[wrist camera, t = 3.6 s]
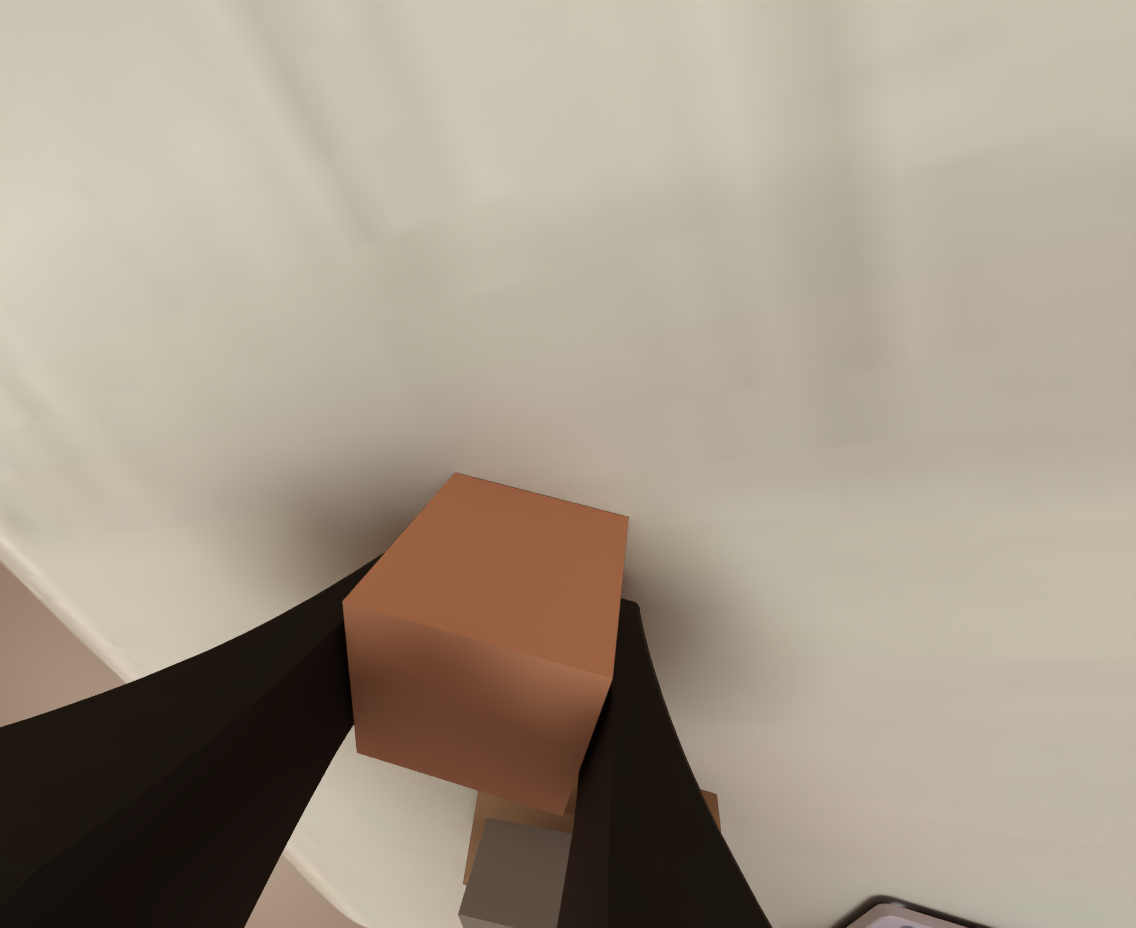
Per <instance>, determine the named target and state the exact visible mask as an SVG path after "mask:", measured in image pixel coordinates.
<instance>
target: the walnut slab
mask: <svg viewBox="0 0 1136 928" xmlns="http://www.w3.org/2000/svg"><path fill="white" fill-rule="evenodd" d="M578 774H579V772H578ZM577 786H578V775H577V778H576V781H575V783H574V786H573V789H572V792H571V794H570V797H569V800H568V803H567V805H566V808H565V811H564V814H563V816H559V815H556V814H552V813H549V812H546V811H543V810H539V809H536V808H533V807H530V806H527V805H523V804H520V803H517V802H514V801H511V800H507V799H504V798H501V797H498V796H495V795H491V794H488V793H485V792H482V791H478V797H477V803H476V809H475V815H474V821H473V827H472V833H471V839H470V844H469V850H468V856H467V862H466V868H465V874H464V880H463V884H464V885H467V883H468V880H469V876H470V873H471V870H472V866H473V863H474V860H475V856H476V853H477V850H478V846H479V843H480V840H481V836H482V833H483V830H484V826H485V823H486V820H487V818H490V819H495V820H501V821H506V822H512V823H517V824H523V825H528V826H533V827H539V828H544V829H550V830H555V831H561V832H566V833H572V832H573V825H574V816H575V808H576V798H577ZM700 790H701V789H700ZM701 792H702V795H703V797H704V799H705V801H706V803H707V805H708V807H709V809H710V811H711V813H712V816H713V818H714V820H715V822H716V824H717V826H718V828H719V830H720V832H721V827H720V819H719V810H718V801H717V794H714V793H711V792H708V791H704V790H701Z"/></svg>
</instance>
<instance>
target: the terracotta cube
mask: <svg viewBox="0 0 1136 928" xmlns="http://www.w3.org/2000/svg"><path fill="white" fill-rule="evenodd" d="M628 519H629V517H625V516H622V515H618V514H614V513H610V512H606V511H602V510H598V509H594V508H590V507H586V506H582V505H579V504H575V503H571V502H567V501H563V500H559V499H555V498H551V497H547V496H543V495H540V494H536V493H532V492H528V491H524V490H520V489H516V488H512V487H508V486H504V485H501V484H497V483H493V482H489V481H485V480H481V479H477V478H473V477H469V476H465V475H461V474H458V473H455V474H454V475H453V476H452V477H451V478H450V479H449V480H448V482H447V483H446V484H445V485H444V486H443V487H442V488H441V490H440V491H439V492H438V493H437V494H436V495H435V496H434V498H433V499H432V500H431V501H430V502H429V503H428V504H427V506H426V507H425V508H424V509H423V510H422V511H421V512H420V513H419V515H418V516H417V517H416V518H415V519H414V520H413V521H412V523H411V524H410V525H409V526H408V527H407V528H406V529H405V531H404V532H403V533H402V534H401V535H400V536H399V537H398V539H397V540H396V541H395V542H394V543H393V544H392V545H391V547H390V548H389V549H388V550H387V551H386V552H385V553H384V555H383V556H382V557H381V558H380V559H379V560H378V561H377V563H376V564H375V565H374V566H373V567H372V568H371V569H370V571H369V572H368V573H367V574H366V575H365V576H364V577H363V579H362V580H361V581H360V582H359V583H358V584H357V585H356V587H355V588H354V589H353V590H352V591H351V592H350V593H349V595H348V596H347V597H346V598H345V599H344V600H343V601H342V602H343V613H344V623H345V633H346V644H347V654H348V665H349V675H350V685H351V696H352V706H353V717H354V727H355V737H356V748H357V753H360V754H363V755H366V756H369V757H373V758H376V759H379V760H382V761H385V762H389V763H392V764H395V765H398V766H402V767H405V768H408V769H411V770H414V771H418V772H421V773H424V774H427V775H430V776H434V777H437V778H440V779H443V780H446V781H450V782H453V783H456V784H459V785H462V786H466V787H469V788H472V789H475V790H479V791H482V792H485V793H488V794H491V795H495V796H498V797H501V798H504V799H507V800H511V801H514V802H517V803H520V804H523V805H527V806H530V807H533V808H536V809H539V810H543V811H546V812H549V813H552V814H556V815H559V816H563V814H564V811H565V808H566V805H567V803H568V800H569V797H570V794H571V792H572V789H573V786H574V783H575V781H576V778H577V775H578V772H579V770H580V767H581V764H582V761H583V759H584V756H585V753H586V750H587V748H588V745H589V742H590V739H591V737H592V734H593V731H594V728H595V726H596V723H597V720H598V717H599V715H600V712H601V709H602V706H603V704H604V701H605V698H606V695H607V693H608V690H609V687H610V684H611V682H612V679H613V670H614V660H615V650H616V640H617V630H618V620H619V610H620V599H621V589H622V579H623V569H624V559H625V549H626V539H627V529H628Z"/></svg>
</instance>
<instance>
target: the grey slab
mask: <svg viewBox="0 0 1136 928" xmlns="http://www.w3.org/2000/svg"><path fill="white" fill-rule="evenodd" d="M571 838H572V833H566V832H561V831H555V830H550V829H544V828H539V827H533V826H528V825H523V824H517V823H512V822H506V821H501V820H495V819H490V818H487V820H486V823H485V826H484V830H483V833H482V836H481V840H480V843H479V846H478V850H477V853H476V856H475V860H474V863H473V866H472V870H471V873H470V876H469V880H468V883H467V887H466V890H465V893H464V897H463V900H462V903H461V907H460V910H459V913H458V915H459V918H460V920H461V923H462V925H463V928H557V923H558V917H559V911H560V905H561V899H562V893H563V887H564V881H565V875H566V869H567V863H568V856H569V850H570V844H571Z"/></svg>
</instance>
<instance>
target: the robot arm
mask: <svg viewBox="0 0 1136 928" xmlns="http://www.w3.org/2000/svg"><path fill="white" fill-rule="evenodd" d="M383 555H384V553H383V554H382V555H380V556H379V557H377V558H375V559H374V560H372V561H371V562H369V563H368V564H366V565H364V566H363V567H361V568H360V569H358V570H356V571H355V572H353V573H352V574H350V575H348V576H347V577H345V578H343V579H342V580H340V581H338V582H337V583H335V584H334V585H332V586H330V587H329V588H327V589H325V590H324V591H322V592H320V593H319V594H317V595H315V596H313V597H312V598H310V599H308V600H306V601H304V602H303V603H301V604H299V605H297V606H295V607H294V608H292V609H290V610H288V611H286V612H285V613H283V614H281V615H279V616H277V617H276V618H274V619H272V620H270V621H268V622H266V623H264V624H262V625H260V626H258V627H256V628H254V629H252V630H250V631H248V632H246V633H244V634H242V635H240V636H238V637H236V638H234V639H232V640H229V641H227V642H225V643H223V644H221V645H219V646H217V647H215V648H212V649H210V650H208V651H206V652H203V653H201V654H199V655H196V656H194V657H191V658H189V659H187V660H184V661H182V662H179V663H177V664H175V665H172V666H170V667H167V668H165V669H162V670H160V671H158V672H155V673H153V674H150V675H148V676H146V677H143V678H141V679H138V680H136V681H133V682H130V683H128V684H125V685H122V686H120V687H117V688H114V689H112V690H109V691H106V692H104V693H101V694H98V695H95V696H93V697H90V698H87V699H84V700H81V701H78V702H76V703H73V704H70V705H67V706H64V707H61V708H59V709H56V710H53V711H50V712H47V713H44V714H41V715H38V716H35V717H32V718H29V719H26V720H22V721H19V722H16V723H13V724H9V725H6V726H3V727H0V928H244V927H245V925H246V923H247V921H248V919H249V917H250V915H251V913H252V911H253V909H254V907H255V905H256V903H257V901H258V899H259V897H260V895H261V893H262V891H263V889H264V887H265V885H266V883H267V881H268V879H269V877H270V875H271V873H272V871H273V869H274V867H275V865H276V864H277V862H278V859H279V858H280V856H281V854H282V852H283V850H284V848H285V846H286V844H287V842H288V840H289V839H290V837H291V835H292V833H293V831H294V829H295V827H296V825H297V823H298V822H299V820H300V818H301V816H302V814H303V812H304V810H305V808H306V807H307V805H308V803H309V801H310V799H311V797H312V795H313V794H314V792H315V790H316V788H317V786H318V785H319V783H320V781H321V779H322V777H323V775H324V774H325V772H326V770H327V768H328V766H329V765H330V763H331V761H332V759H333V757H334V755H335V754H336V752H337V750H338V749H339V747H340V745H341V744H342V742H343V741H344V739H345V737H346V736H347V734H348V732H349V731H350V729H351V728H352V726H353V725H354V717H353V706H352V696H351V685H350V675H349V665H348V654H347V644H346V633H345V623H344V613H343V602H342V601H343V600H344V599H345V598H346V597H347V596H348V595H349V593H350V592H351V591H352V590H353V589H354V588H355V587H356V585H357V584H358V583H359V582H360V581H361V580H362V579H363V577H364V576H365V575H366V574H367V573H368V572H369V571H370V569H371V568H372V567H373V566H374V565H375V564H376V563H377V561H378V560H379V559H380V558H381V557H382V556H383ZM557 928H772V926H771V924H770V923H769V921H768V919H767V917H766V916H765V914H764V912H763V911H762V909H761V907H760V905H759V904H758V902H757V900H756V898H755V896H754V894H753V892H752V890H751V889H750V887H749V885H748V883H747V881H746V879H745V877H744V875H743V874H742V872H741V870H740V868H739V866H738V864H737V862H736V860H735V859H734V857H733V855H732V853H731V851H730V849H729V847H728V845H727V843H726V842H725V840H724V838H723V836H722V834H721V832H720V830H719V828H718V826H717V824H716V822H715V820H714V818H713V816H712V813H711V811H710V809H709V807H708V805H707V803H706V801H705V799H704V797H703V795H702V792H701V790H700V788H699V786H698V784H697V781H696V779H695V777H694V775H693V772H692V770H691V768H690V766H689V763H688V761H687V758H686V756H685V754H684V751H683V749H682V746H681V744H680V741H679V739H678V736H677V734H676V731H675V728H674V726H673V723H672V720H671V718H670V715H669V712H668V710H667V707H666V704H665V701H664V698H663V695H662V692H661V689H660V686H659V683H658V680H657V676H656V673H655V670H654V667H653V663H652V660H651V657H650V653H649V649H648V645H647V642H646V638H645V633H644V629H643V625H642V620H641V614H640V608H639V606H638V604H637V603H636V602H633V601H629V600H626V599H622V598H621V599H620V610H619V620H618V630H617V640H616V650H615V660H614V670H613V679H612V682H611V684H610V687H609V690H608V693H607V695H606V698H605V701H604V704H603V706H602V709H601V712H600V715H599V717H598V720H597V723H596V726H595V728H594V731H593V734H592V737H591V739H590V742H589V745H588V748H587V750H586V753H585V756H584V759H583V761H582V764H581V767H580V770H579V774H578V786H577V798H576V808H575V816H574V825H573V832H572V838H571V844H570V850H569V856H568V863H567V869H566V875H565V881H564V887H563V893H562V899H561V905H560V911H559V917H558V923H557ZM846 928H967V927H964V926H961V925H958V924H955V923H951V922H948V921H945V920H942V919H938V918H935V917H932V916H929V915H925V914H922V913H919V912H916V911H913V910H909V909H906V908H903V907H900V906H896V905H892V904H879V905H876V906H875V907H873V908H872V909H871V910H869V911H868V912H867V913H865V914H864V915H862V916H861V917H860V918H858V919H857V920H856V921H854V922H853V923H852V924H850V925H849V926H847V927H846Z"/></svg>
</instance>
